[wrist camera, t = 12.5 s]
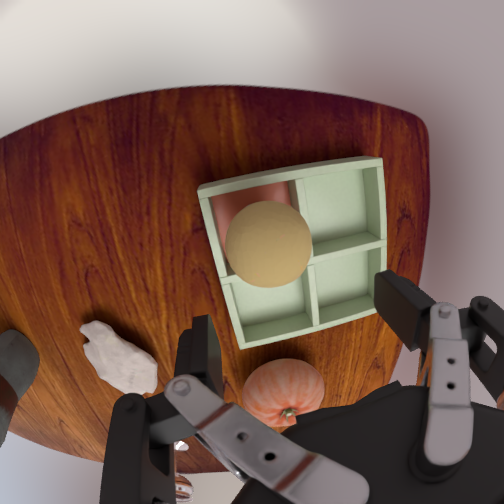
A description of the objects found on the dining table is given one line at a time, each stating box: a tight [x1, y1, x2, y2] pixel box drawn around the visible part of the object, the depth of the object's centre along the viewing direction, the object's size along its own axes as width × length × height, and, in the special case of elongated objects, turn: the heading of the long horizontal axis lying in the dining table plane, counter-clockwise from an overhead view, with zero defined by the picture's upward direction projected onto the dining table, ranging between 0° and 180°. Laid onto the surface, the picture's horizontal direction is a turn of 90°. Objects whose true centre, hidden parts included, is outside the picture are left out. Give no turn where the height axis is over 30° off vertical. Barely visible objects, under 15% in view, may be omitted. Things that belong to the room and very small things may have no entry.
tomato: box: [242, 359, 324, 427], centre depth 32 cm, size 11×11×8 cm
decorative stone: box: [80, 320, 158, 395], centre depth 31 cm, size 11×4×15 cm
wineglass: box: [174, 441, 193, 502], centre depth 36 cm, size 7×7×12 cm
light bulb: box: [225, 201, 312, 288], centre depth 22 cm, size 6×6×10 cm
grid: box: [197, 156, 387, 349], centre depth 28 cm, size 17×17×4 cm
